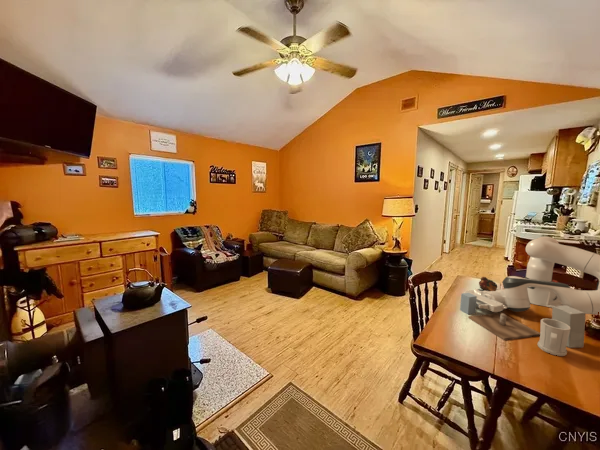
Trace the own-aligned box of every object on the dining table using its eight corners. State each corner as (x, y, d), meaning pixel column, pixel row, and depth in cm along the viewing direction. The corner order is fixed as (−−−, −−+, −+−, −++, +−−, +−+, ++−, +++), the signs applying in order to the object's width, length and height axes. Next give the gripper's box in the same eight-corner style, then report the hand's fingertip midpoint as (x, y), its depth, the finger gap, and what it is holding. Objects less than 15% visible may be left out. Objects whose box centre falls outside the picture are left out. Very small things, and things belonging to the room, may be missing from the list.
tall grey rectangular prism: (467, 309, 143) (468, 292, 141) (475, 313, 138) (476, 296, 136) (460, 310, 141) (461, 293, 140) (467, 314, 137) (469, 297, 135)
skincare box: (583, 348, 107) (589, 313, 105) (566, 348, 107) (571, 313, 105) (563, 336, 115) (568, 304, 113) (547, 336, 115) (552, 304, 113)
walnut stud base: (500, 314, 136) (502, 302, 135) (540, 335, 116) (542, 322, 115) (468, 317, 133) (469, 306, 132) (503, 340, 113) (505, 326, 112)
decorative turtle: (487, 286, 173) (489, 275, 172) (502, 297, 159) (504, 285, 157) (472, 285, 174) (474, 274, 173) (486, 296, 160) (488, 284, 158)
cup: (576, 360, 100) (580, 333, 98) (549, 358, 101) (553, 330, 100) (555, 344, 110) (559, 319, 108) (531, 342, 112) (534, 317, 110)
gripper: (508, 313, 132) (488, 317, 129) (473, 297, 152) (455, 300, 148) (510, 302, 131) (489, 305, 128) (474, 287, 151) (455, 290, 148)
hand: (470, 302), depth 138 cm, fingers open, 8 cm apart
